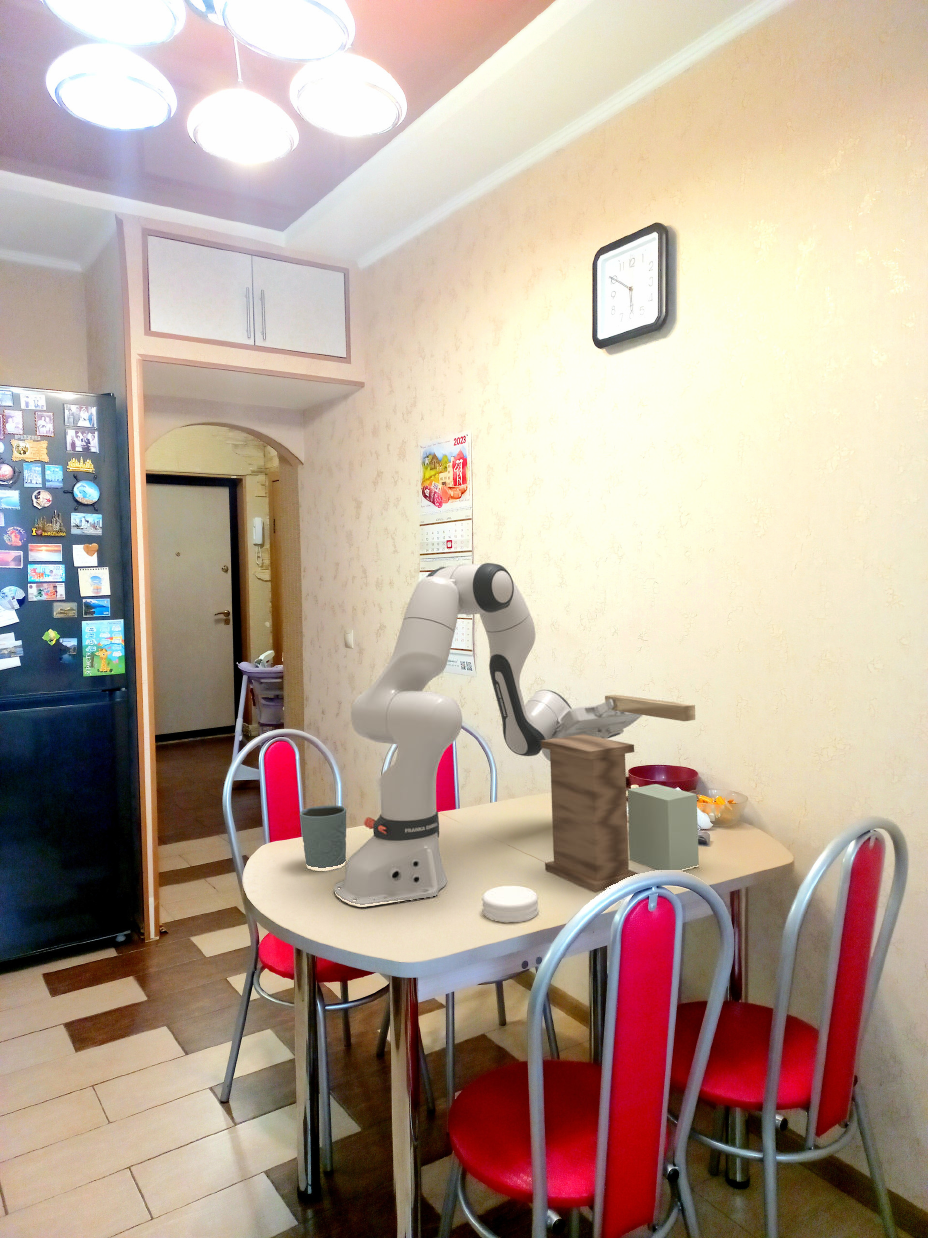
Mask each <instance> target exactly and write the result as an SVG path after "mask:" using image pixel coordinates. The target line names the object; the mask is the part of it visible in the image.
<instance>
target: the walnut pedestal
mask: <svg viewBox="0 0 928 1238" xmlns="http://www.w3.org/2000/svg"><path fill="white" fill-rule="evenodd" d="M541 748H544V749H548V750H550V761H549V762H550V786H551V787H550V788H551V817H552V818H551V819H552V821H551V823H552V844H553V845H552V848H553V849H552V851H553V860H552V861H548V862H545V863H544V867H545V868H544V869H545V871H546V872H548V873H551V874H552V875H555V876H558V877H559V878H562V879H564V880H566V881H568V882H571V883H573V884H575V885H577V886H579V887H582V888H584V889H587V890H588V891H591V892H593V893H596V892H597V893H598V892H601V891H605V890H606V889H605V888H607V887H609V886H611V885H613V884H616V883H618V882H619V881H621V880H623V879H625V878H627V877H630V876H633V875H635V874H638V875H639V873H638V872H637V871H634V870H631V869H629V867H630V866H629V865H630V864H629V831H628V799H627V778H626V777H627V775H626V774H627V773H626V772H627V771H626V754H631V753H635V744H632V743H629V742H622V741H617V740H612V739H609V738H608V739H603V738H598V737H593V736H588V735H576V736H569V737H562V738H555V739H548V740H541ZM604 889H605V890H604Z"/></svg>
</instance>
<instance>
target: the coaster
mask: <svg viewBox="0 0 928 1238" xmlns="http://www.w3.org/2000/svg"><path fill="white" fill-rule="evenodd" d="M538 898H539V897H538V894H537V893H536V892H535V891H534V890H533V889H531V888H528V887H525V886H519V885H502V886H496V887H493V888H490V889H488V890H487V891H486V892H485V893H483V894H482V898H481V899H482V900H481V901H482V905H481V906H482V908H483V909H482V913H483V916H484V915H485V916H486V917H485V916H484V917H485V918H487V917H488V918H491V919H493V920H497V921H501V922H515V923H514V924H517V923H516V922H518V923H523V921H524V922H527V921H530V920H532V919H534V918H535V917H536V916H537V915H538V913H539V908H538V906H539V903H538V900H539V899H538ZM488 918H487V919H488ZM501 922H500V923H501Z"/></svg>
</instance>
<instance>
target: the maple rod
mask: <svg viewBox="0 0 928 1238" xmlns="http://www.w3.org/2000/svg"><path fill="white" fill-rule="evenodd" d="M611 699H615V700H616V703H617V707H615V708H614V709H610V710H614V711H620V712H627V713H633V714H640V715H642V716H646V717H647V716H649V717H655V718H660V719H665V720H666V719H667V720H671V721H672V720H673V721H680V722H689V721H696V704H690V703H684V702H683V703H682V702H674V701H666V700H660V699H652V698H644V697H637V696H630V695H623V694H622V695H621V694H610V695H609V694H608V695H604V703H605V702H606V701H608V700H611Z"/></svg>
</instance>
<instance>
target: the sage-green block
mask: <svg viewBox="0 0 928 1238" xmlns="http://www.w3.org/2000/svg"><path fill="white" fill-rule="evenodd" d="M697 797H698V794H696V793H693V792H688V791H685V790H681V789H677V788H673V787H669V786H664V785H662V784H657V783H655V784H654V783H652V784H649V785H644V786H640V787H639V786H638V787H634V788H628V789H627V821H628V852H629V860H631V861H633V862H636V863H638V864H641V865H644V866H647V867H649V868H651V869H654V870H657V871H659V870H682V869H686V868H690V867H693V866H697V865H700V864H699V863H700V862H699V860H700V859H699V856H700V855H699V831H698V830H699V829H698V827H699V825H698V822H699V821H698V799H697ZM684 871H685V872H686V870H684ZM684 871H683V872H684Z"/></svg>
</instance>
